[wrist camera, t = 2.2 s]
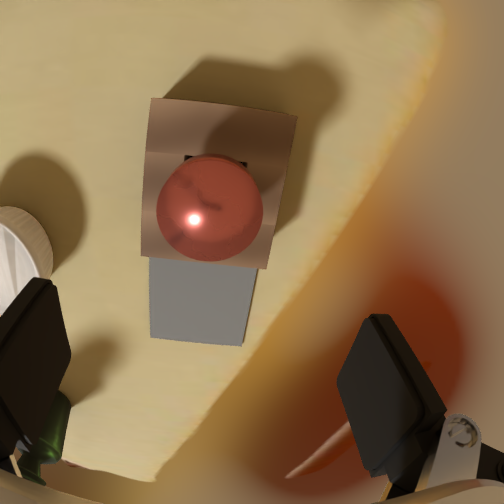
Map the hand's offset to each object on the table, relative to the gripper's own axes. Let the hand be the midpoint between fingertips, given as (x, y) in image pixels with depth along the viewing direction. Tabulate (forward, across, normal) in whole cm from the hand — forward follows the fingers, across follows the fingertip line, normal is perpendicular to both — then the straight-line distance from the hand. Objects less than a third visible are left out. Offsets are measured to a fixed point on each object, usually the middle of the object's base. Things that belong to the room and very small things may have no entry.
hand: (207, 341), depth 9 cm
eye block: (+19, 0, 0) cm, 19 cm away
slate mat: (+19, 0, +13) cm, 23 cm away
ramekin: (+19, +20, +9) cm, 29 cm away
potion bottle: (+19, +22, +35) cm, 46 cm away
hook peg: (+19, 0, 0) cm, 19 cm away
